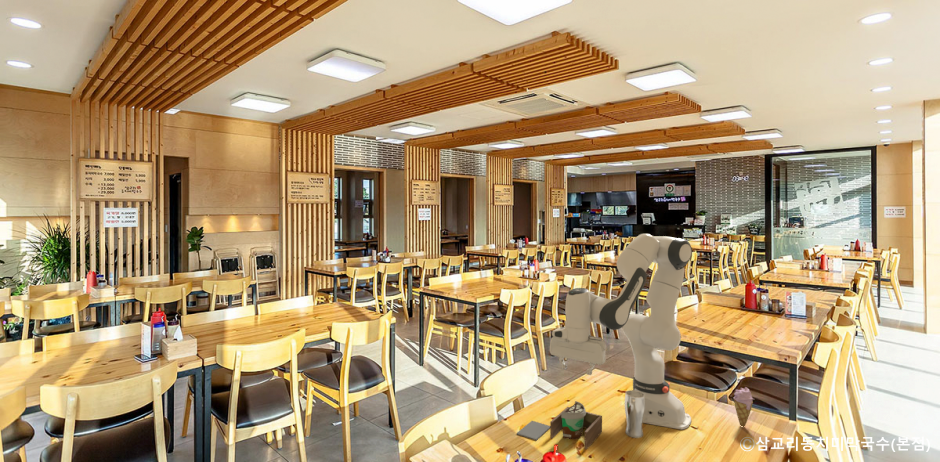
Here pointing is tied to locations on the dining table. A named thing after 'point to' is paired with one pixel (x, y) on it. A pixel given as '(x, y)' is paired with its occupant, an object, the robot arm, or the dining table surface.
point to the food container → (573, 421)
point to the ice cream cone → (743, 404)
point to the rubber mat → (533, 430)
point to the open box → (589, 422)
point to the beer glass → (634, 413)
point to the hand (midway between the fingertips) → (576, 371)
